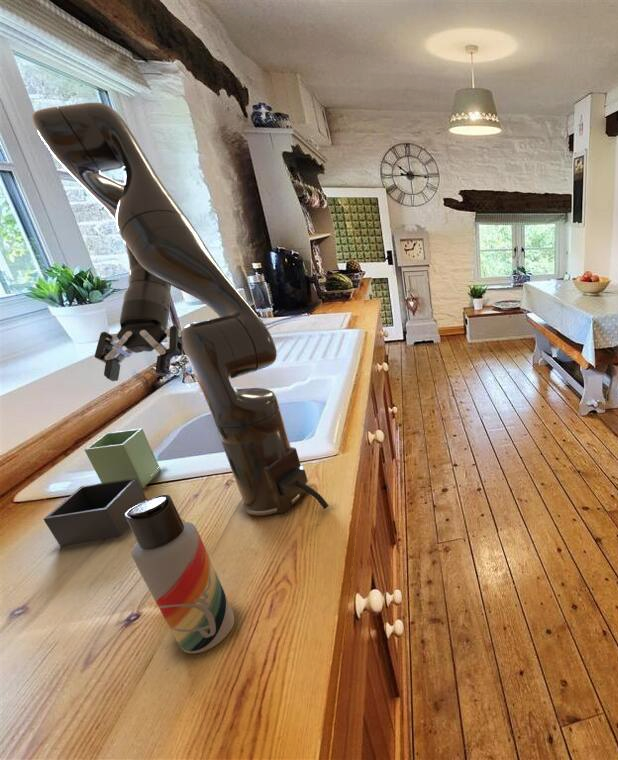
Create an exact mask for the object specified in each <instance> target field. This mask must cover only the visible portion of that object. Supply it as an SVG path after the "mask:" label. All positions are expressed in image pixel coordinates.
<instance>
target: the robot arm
mask: <svg viewBox="0 0 618 760" xmlns="http://www.w3.org/2000/svg"><path fill="white" fill-rule="evenodd" d="M31 118H32V123H33V125H34V127H35V130H36V131H37V134H38V135H39V136H40V138H41V140H42V141H43V142H44V145H46V147H47V148H48V150H49V151H50V153H51V154H52V155H53V157H54V158H55V159H56V160H57V161H58V162H59V163H60V164H61V165H62V167H63V168H64V169H65V170H66V171H67V172H68V173H69V174H70V175H71V176H72V177H73V178H74V180H76V181H77V182H78V183H79V184H80V185H81V186H82V187H83V188H84V189H85V190H86V191H87V192H88V193H89V194H90V195H91V196H92V197H93V198H94V199H95V200H96V201H97V202H98V203H99V204H101V206H102V207H104V209H105V210H106V211H107V212H108V213H109V215H110V216H111V217H112V219H113V220H114V221H115V223H116V228H117V231H118V234H119V235H120V237H121V238H122V240H123V244H124V247H125V248H124V249H125V251H126V254H127V258H128V263H129V264H128V265H129V274H128V276H129V277H128V281H127V286H126V288H125V289H126V290H125V292H124V295H123V300H122V306H121V312H120V317H119V325H120V330H119V331H118V332H117V333H109V332H107V331H102V332H100V335H99V338H98V341H97V345H96V349H95V352H94V358H95V359H97V360H99V361H101V362H102V363H104V364H105V365H104V370H103V375H104V377H105V378H106V379H107V380H110V381H111V382H117V381H119V379H120V378H119V376H120V370H121V363H122V362H123V361H124V360H125V359H127V358H130V357H131V356H132V355H133V354H134V353H135V354H138V353H143V352H153V351H154V350H155V351H156V352H157V353H158V354H159V355H157V357H156V365H155V373H156V374H157V375H159V376H160V377H164V376H165V377H166V376H167V374H168V373H169V372H170V369H171V360H172V359H173V358H174V357H181V356H183V354H185V357H186V359H187V361H188V363H189V366H190V368H191V370H192V372H193V374H194V376H195V379H196V382H197V384H198V386H199V389H200V391H201V393H202V396H203V398H204V401H205V403H206V406H207V409H208V410H209V412H210V415H211V417H212V419H213V422H214V425H215V428H216V431H217V433H218V436H219V439H220V442H221V444H222V447H223V450H224V454H225V455H226V459H227V461H228V464H229V467H230V469H231V472H232V475H233V478H234V481H235V483H236V486H237V488H238V491H239V495H240V496H241V498H242V502H243V507H244V509H245V511H246V513H247V514H249V515H250V516H255V517H265V516H271V515H275V514H285V513H286V512H287V511H289V510H290V509H291V508H292V507H293V506H294V505H295V504H296V503H298V501H299V500H300V499H301V498H302V497H303V496H305V495H306V494H307V493H308V494H309V495H311V496H312V497H313V498H314V499H315V500H316V501H317V502H318V503H319V505H320V506H321V507H322V509H324V510H326V509H327V508H328V507H329V503H328V502H327V501H326V500H325V498H323V496H322V495H321V494H320V493H319V492H317V490H316V489H313V488H312V487H310V486H309V485H307V483H308V481H309V480H308V478H307V473H306V470H305V469H304V466H303V465H301V462H300V458H299V454H298V450H297V448H296V447H293V446H291V443H290V440H289V436H288V433H287V429H286V426H285V422H284V418H283V415H282V412H281V407H280V404H279V401H278V397H277V395H276V394H275V392H274V391H273V390H271V389H268V388H264V387H234V386H233V384H232V381H231V380H232V379H237V378H239V377H242V376H245V375H248V374H252V373H254V372H258V371H261V370H263V369H266V368H268V367H270V366H272V365H273V364H274V363H275V362H276V360H277V357H278V352H277V347H276V343H275V341H274V338H273V337H272V334H271V332H270V331H269V329H268V328H267V326H266V324H265V323H264V322H263V320H262V319H261V318H260V316H259V315H258V313H256V311H255V310H254V308H252V307H251V305H250V304H249V303H248V302H247V300H246V299H245V298H244V297H243V295H242V294H241V293H240V292H239V291H238V289H237V288H236V287H235V286H234V285H233V283H232V282H231V280H229V278H228V277H227V275H226V274H225V272H224V271H223V270H222V269H221V267H220V266H219V264H218V262H217V261H216V259H215V258H214V257H213V255H212V254H211V252H210V251H209V249H208V247H207V246H206V243H204V241H203V239H202V238H201V236H200V234H199V233H198V232H197V230H196V229H195V227H194V226H193V224H192V223H191V221H190V220H189V218H188V217H187V215H186V214H185V213H184V212H183V210H182V209H181V208H180V206H179V204H177V202H176V201H175V199H174V198H173V197H172V195H171V194H170V193H169V191H168V190H167V188H166V187H165V185H164V184H163V182H162V181H161V179H160V178H159V176H158V174H157V173H156V171H155V170H154V168H153V166H152V165H151V163H150V161H149V159H148V158H147V156H146V154H145V152H144V151H143V149H142V147H141V146H140V144H139V142H138V140H137V139H136V136H134V134H133V132H132V130H131V129H130V128H129V126H128V125H127V124H126V121H125V120H124V119H123V118H122V117H121V115H120V114H119V113H118V112H117V111H116V110H115V109H114V108H112V107H111V106H109V105H108V104H106V103H103V102H82V103H74V104H68V105H67V104H65V105H60V106H52V107H51V106H50V107H46V108H42V109H38V110H35V111H34V112H33V113H32V116H31ZM120 169H124V183H121V182H119V181H116V180H114V179H112V178H109V177H108V176H106V175H104V174H102V173H104V172H110V171H115V170H120ZM172 287H174V288H175V289H177V290H179V291H182V292H184V293H186V294H188V295H190V296H192V297H193V298H195V299H197V300H199V301H201V302H202V303H203V304H204V305H206V306H208V307H209V308H210V309H211V310H212V311H213V312H214V313H215V314H216V315H217V316H218V317H215V318H211V319H206V320H200V321H197V322H192V323H190V324H187V325H185V326H184V327H183V328H182V330H181V329H180V328H179V327H177V326H176V325H172V326H170V327H169V328H168V325H169V319H170V318H169V317H170V309H171V289H172ZM167 337H168V338H169V340H168V341H169V342H168V348H166V347H165V345H164V343H163V342H164V341H165V340H166V338H167ZM123 348H126V349H123Z"/></svg>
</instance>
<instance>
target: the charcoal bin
mask: <svg viewBox="0 0 618 760" xmlns="http://www.w3.org/2000/svg"><path fill="white" fill-rule="evenodd" d="M146 500H148V499H147V497H146V494H145V492H144V490H143V488H141V486H140V484H139V482H138V479H137V478H133V479H127V480H120V481H113V482H106V483H100V482H99V483H94V484H92V483H91V484H86V485H81V486H79V487H78V488H77V489H76V490H75V491H73V492H72V493H71V494H70V495H69V496H68V497H67V498H66V499H65V500H63V501H62V502H61V503H60V504H59V505H57V507H55V508H54V509H53V510H52V511H51V512H50V513H49V514H47V515H46V516H45V517H44V518H43V521H44V523H45V525H46V527H48V530H50V532H51V534H52V536H53V537H54V539H55V541H56V542H57V544H58V545H59V547H68V546H74V545H79V544H84V543H85V544H86V543H91V542H96V541H97V542H98V541H103V540H107V539H108V540H109V539H113V538H114V539H115V538H120V537H122V536H123V535H124V533H125V532H126V531H127V530H128V529H129V528H130V526H129V524H128V521H127V519H126V517H125V513H126V512H127V511H128V510H129V509H131V508H133V507H134V506H136V505H138V504H140V503H142V502H144V501H146Z"/></svg>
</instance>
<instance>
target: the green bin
mask: <svg viewBox="0 0 618 760" xmlns="http://www.w3.org/2000/svg"><path fill="white" fill-rule="evenodd" d="M84 452H85V454H86V456H87V458H88V460H89V462H90V464H91V466H92V467H93V469H94V471H95V474H96V475H97V477H98V479H99V481H100V482H101V483H106V482H113V481H120V480H127V479H133V478H137V479H138V482H139V484H140V486H141V488H142V489H144V488H145V487H146V486H147V485H148V484H149V483H150V482H151V481H152V480H153V479H154V477H156V475H157V474H158V473H159V472H160V471H162V470H161V466H160V465H159V462H158V461H157V459H156V456H155V454H154V452H153V449H152V447H151V445H150V443H149V440H148V438H147V436H146V434H145V432H144V429H143V428H135V429H127V430H120V431H118V430H117V431H112V432H111V431H110V432H105V433H104V434H103V435H102V436H99V438H98V439H96V440H95V441H94V442H93V443H91V444H90V445H88V446H87V447H86V448H84ZM158 467H159V468H158ZM157 468H158V469H157ZM156 470H157V471H156ZM155 471H156V472H155ZM154 472H155V473H154ZM153 473H154V474H153ZM152 474H153V475H152ZM151 475H152V476H151Z"/></svg>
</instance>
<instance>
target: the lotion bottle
mask: <svg viewBox="0 0 618 760" xmlns="http://www.w3.org/2000/svg"><path fill="white" fill-rule="evenodd" d="M125 517H126V519H127V521H128V524H129V528H130V530H131V532H132V534H133V536H134V538H135V540H136V543H135V545H134V546H133V548H132V549H131V557H132V559H133V561H134V564H135V566H136V568H137V570H138V572H139V573H140V575H141V577H142V579H143V581H144V583H145V585H146V586H147V588H148V590H149V592H150V594H151V596H152V598H153V600H154V602H155V603H156V605H157V608H158V609H159V611H160V613H161V615H162V616H163V618H164V620H165V622H166V624H167V626H168V628H169V630H170V631H171V633H172V635H173V637H174V638H175V639H174V640H176V642H177V644H178V646H179V647H180V648H181V650H182V651H183V652H184V653H187V654H199V653H202V652H206V651H208V650H211V649H212V648H214V647H215V646H217V645H218V644H220V643H221V642H222V641H223V640H224V639H225V638H226V637H227V636H228V635H229V634H230V632H231V631H232V628H233V626H234V624H235V615H234V612H233V609H232V607H231V604H230V602H229V600H228V596H227V595H226V593H225V590H224V588H223V586H222V583H221V581H220V579H219V576H218V575H217V572H216V570H215V567H214V565H213V563H212V561H211V558H210V556H209V554H208V551H207V549H206V546H205V544H204V542H203V539H202V537H201V535H200V533H199V531H198V529H197V527H196V525H195V524H194V523H192V522H189V521H186V522H182V520H181V518H182V517H181V516H180V514H179V512H178V510H177V507H176V505H175V503H174V501H173V499H172V497H171V495H169V494H159V495H156V496H153V497H150V498H149V499H147V500H146V501H144V502H142V503H140V504H138V505H136V506H134V507H133V508H131V509H129V510H128V511H127V512H126V513H125Z"/></svg>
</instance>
